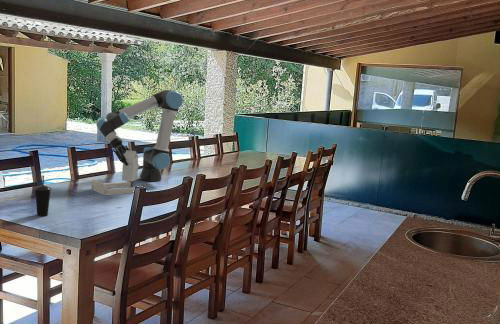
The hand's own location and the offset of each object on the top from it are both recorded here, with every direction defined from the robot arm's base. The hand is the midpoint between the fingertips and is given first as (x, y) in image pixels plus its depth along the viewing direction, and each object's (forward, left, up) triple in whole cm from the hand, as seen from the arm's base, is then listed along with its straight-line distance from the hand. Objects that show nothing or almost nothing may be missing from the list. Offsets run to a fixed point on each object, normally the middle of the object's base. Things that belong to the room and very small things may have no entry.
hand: (134, 168), depth 316 cm
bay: (+9, -3, -14) cm, 17 cm away
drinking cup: (+69, +34, -14) cm, 78 cm away
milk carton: (+2, -3, -8) cm, 9 cm away
